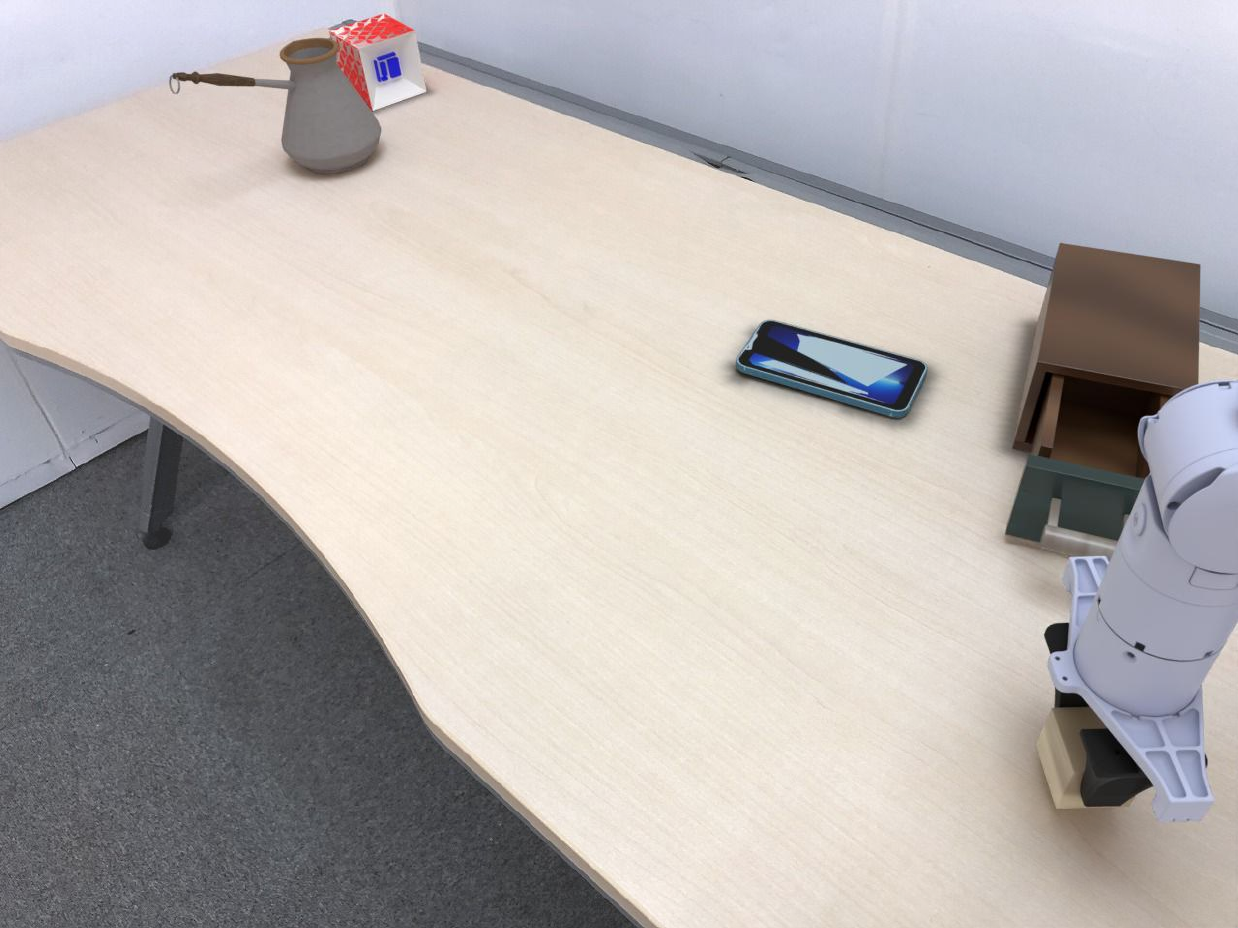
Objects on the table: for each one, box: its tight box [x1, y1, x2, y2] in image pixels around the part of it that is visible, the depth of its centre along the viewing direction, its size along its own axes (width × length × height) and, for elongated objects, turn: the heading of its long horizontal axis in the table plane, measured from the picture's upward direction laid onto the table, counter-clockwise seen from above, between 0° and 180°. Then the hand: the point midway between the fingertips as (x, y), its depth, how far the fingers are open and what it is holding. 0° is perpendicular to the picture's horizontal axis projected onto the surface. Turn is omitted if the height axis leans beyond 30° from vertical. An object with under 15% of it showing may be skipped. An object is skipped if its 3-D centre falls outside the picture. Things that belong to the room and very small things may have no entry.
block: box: [1035, 707, 1136, 810], centre depth 57 cm, size 4×4×4 cm
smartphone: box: [735, 319, 929, 418], centre depth 87 cm, size 7×1×15 cm
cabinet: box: [1011, 242, 1202, 453], centre depth 81 cm, size 17×11×9 cm, turn 158°
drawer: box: [1004, 372, 1173, 562], centre depth 72 cm, size 20×9×7 cm, turn 158°
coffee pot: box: [168, 37, 383, 175], centre depth 113 cm, size 21×12×15 cm, turn 131°
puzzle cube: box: [328, 13, 428, 112], centre depth 131 cm, size 8×8×8 cm
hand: (1087, 761), depth 57 cm, fingers closed on block, 4 cm apart
